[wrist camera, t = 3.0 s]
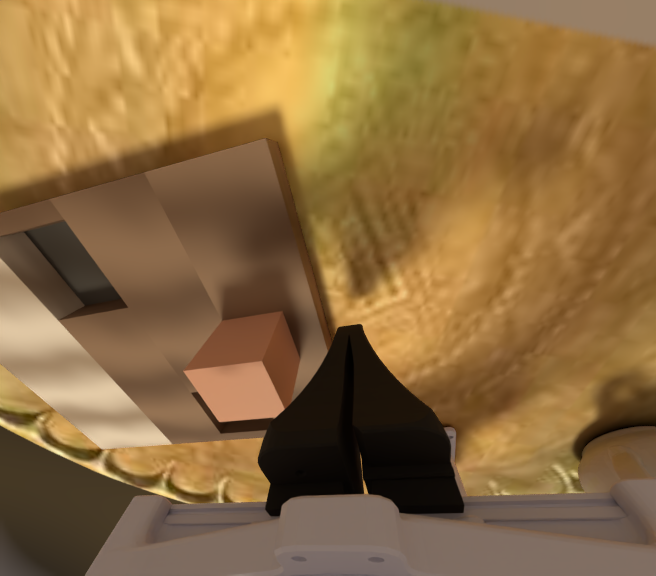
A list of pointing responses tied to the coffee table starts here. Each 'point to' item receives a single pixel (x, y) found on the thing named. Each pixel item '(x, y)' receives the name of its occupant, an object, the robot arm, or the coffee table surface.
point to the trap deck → (154, 292)
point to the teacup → (618, 458)
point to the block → (246, 368)
